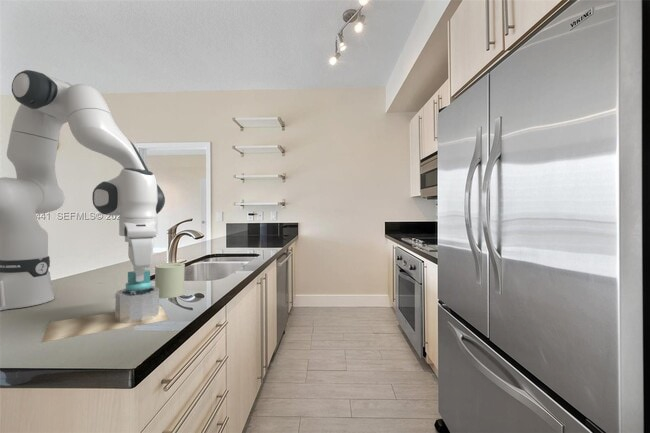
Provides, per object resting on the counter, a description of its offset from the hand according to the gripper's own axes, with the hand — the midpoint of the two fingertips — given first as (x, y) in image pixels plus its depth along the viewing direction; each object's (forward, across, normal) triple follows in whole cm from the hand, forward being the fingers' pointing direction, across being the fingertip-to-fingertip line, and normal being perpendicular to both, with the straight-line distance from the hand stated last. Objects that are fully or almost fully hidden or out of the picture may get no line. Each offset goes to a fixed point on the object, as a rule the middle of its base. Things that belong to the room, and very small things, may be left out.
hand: (138, 279), depth 83 cm
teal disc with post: (+2, 0, 0) cm, 2 cm away
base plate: (+12, 0, -6) cm, 13 cm away
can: (+12, -18, +11) cm, 24 cm away
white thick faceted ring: (+10, 0, 0) cm, 10 cm away
